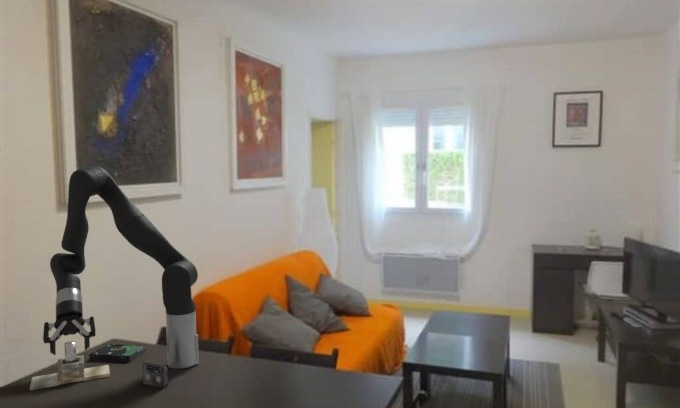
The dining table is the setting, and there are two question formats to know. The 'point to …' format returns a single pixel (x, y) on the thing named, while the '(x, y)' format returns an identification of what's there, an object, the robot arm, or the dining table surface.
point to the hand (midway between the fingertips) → (70, 351)
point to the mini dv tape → (155, 375)
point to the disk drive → (117, 353)
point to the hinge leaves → (69, 374)
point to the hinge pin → (70, 352)
